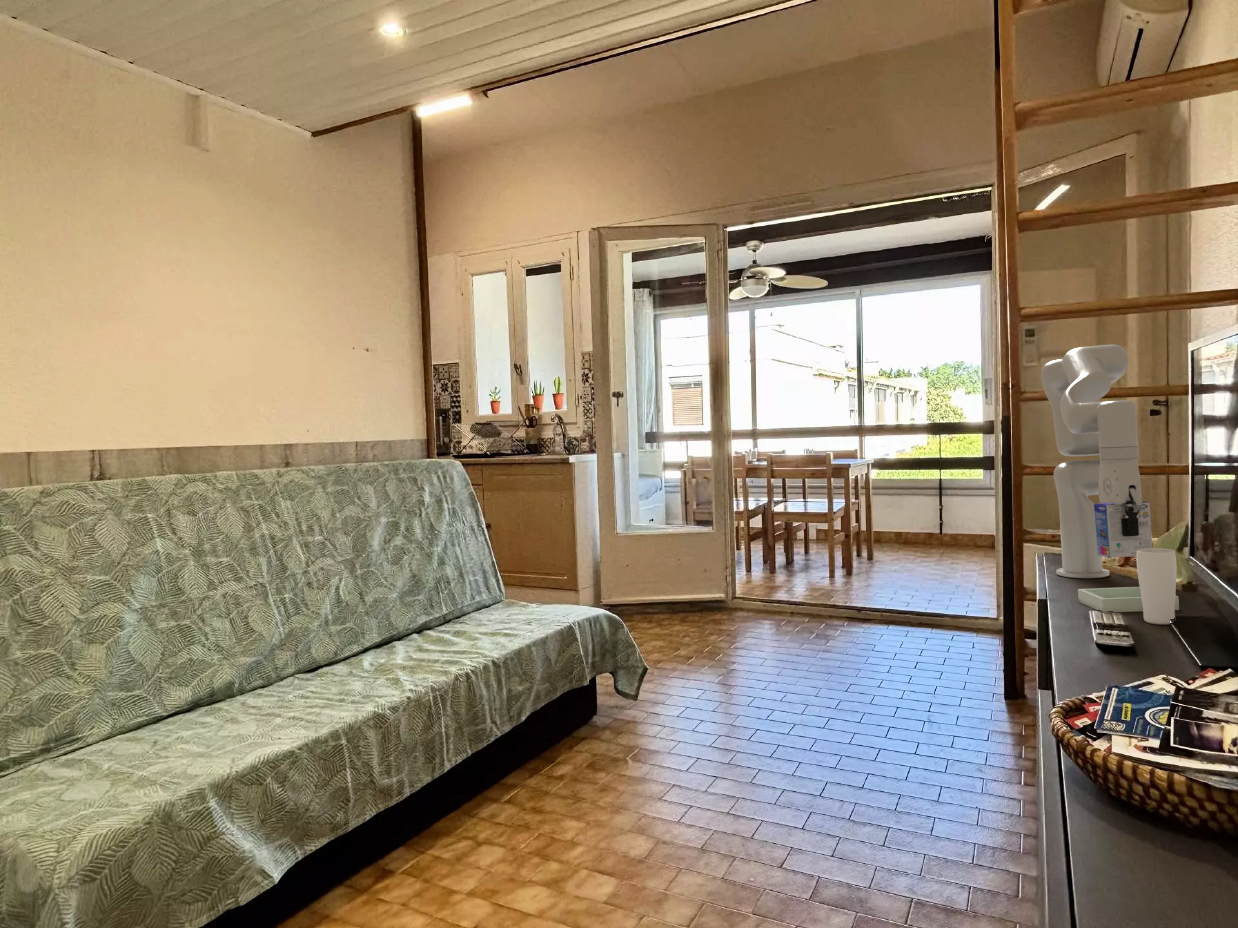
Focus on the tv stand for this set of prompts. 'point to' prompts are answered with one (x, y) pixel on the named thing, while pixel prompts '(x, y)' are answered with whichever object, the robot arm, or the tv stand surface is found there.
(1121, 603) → the tray
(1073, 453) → the robot arm
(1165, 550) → the drinking glass
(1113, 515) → the ink cartridge box
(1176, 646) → the tv stand surface
